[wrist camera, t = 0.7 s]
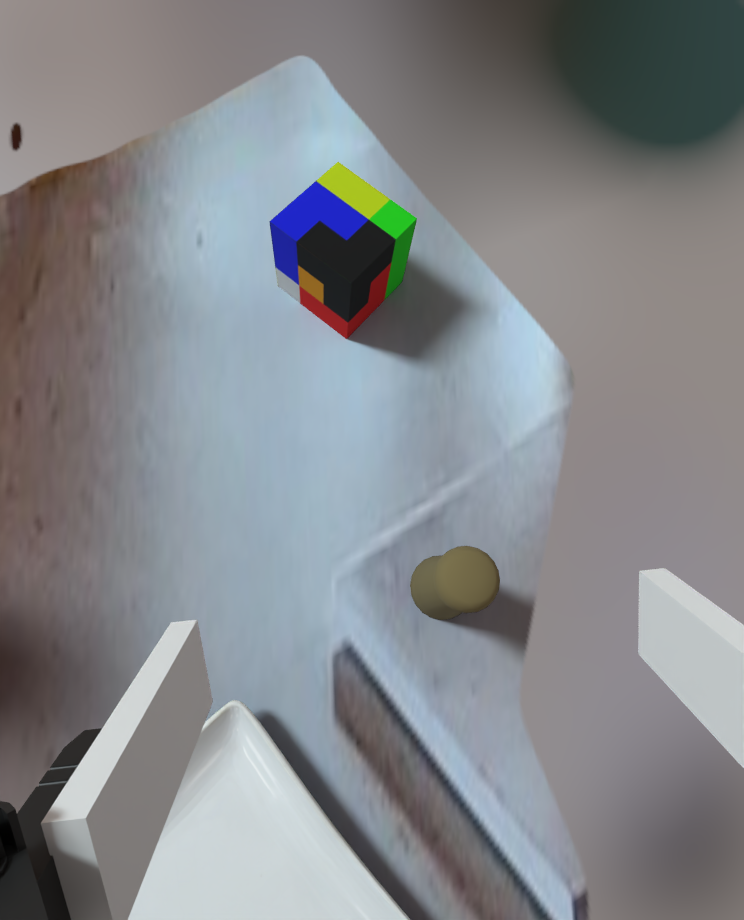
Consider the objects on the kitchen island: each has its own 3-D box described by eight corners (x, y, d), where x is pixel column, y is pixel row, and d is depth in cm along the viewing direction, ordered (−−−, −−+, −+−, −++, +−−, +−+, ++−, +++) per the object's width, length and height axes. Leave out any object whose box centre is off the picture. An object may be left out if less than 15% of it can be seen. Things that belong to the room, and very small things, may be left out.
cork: (480, 610, 51) (521, 606, 40) (420, 627, 50) (446, 627, 39) (461, 548, 52) (496, 529, 42) (403, 563, 51) (423, 548, 41)
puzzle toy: (277, 286, 59) (269, 221, 50) (335, 232, 62) (338, 161, 53) (346, 339, 58) (351, 283, 49) (402, 282, 61) (416, 218, 51)
